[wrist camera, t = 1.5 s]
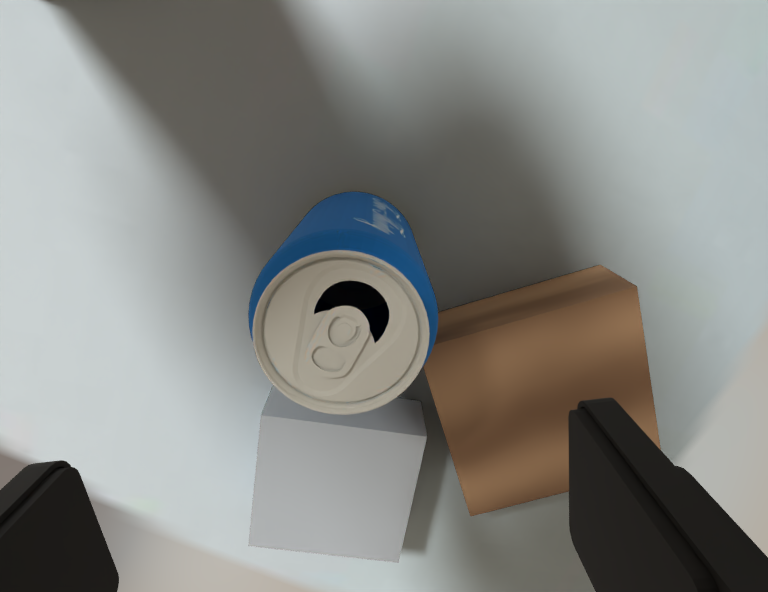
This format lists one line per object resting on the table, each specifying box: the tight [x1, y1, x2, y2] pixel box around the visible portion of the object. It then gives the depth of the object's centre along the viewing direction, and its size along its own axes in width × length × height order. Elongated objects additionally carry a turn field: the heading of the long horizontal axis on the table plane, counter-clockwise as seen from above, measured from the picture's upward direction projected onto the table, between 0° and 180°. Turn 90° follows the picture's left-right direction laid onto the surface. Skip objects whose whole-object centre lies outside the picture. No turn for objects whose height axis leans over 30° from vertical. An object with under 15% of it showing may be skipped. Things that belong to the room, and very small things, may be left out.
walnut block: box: [423, 265, 661, 516], centre depth 27 cm, size 11×11×4 cm
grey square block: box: [248, 385, 427, 563], centre depth 29 cm, size 9×9×4 cm
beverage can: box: [249, 192, 438, 415], centre depth 21 cm, size 6×6×12 cm
